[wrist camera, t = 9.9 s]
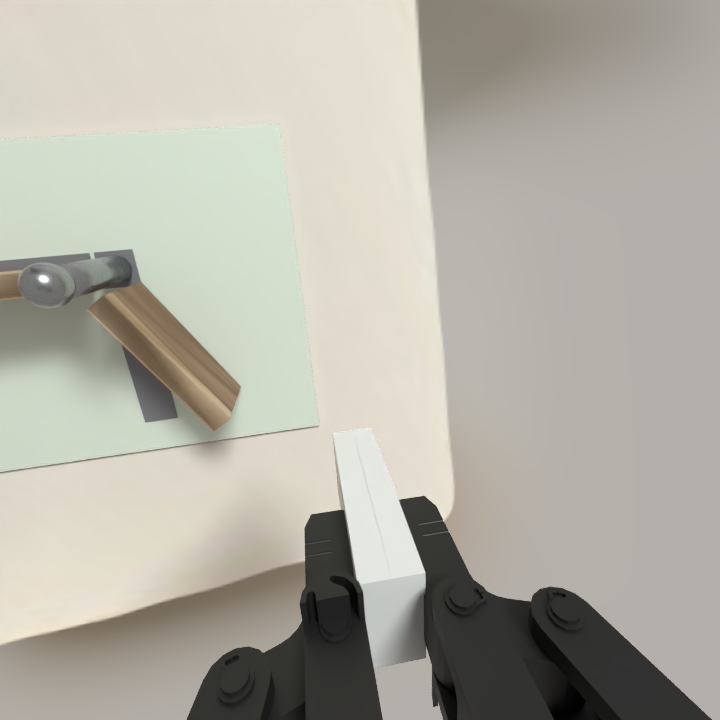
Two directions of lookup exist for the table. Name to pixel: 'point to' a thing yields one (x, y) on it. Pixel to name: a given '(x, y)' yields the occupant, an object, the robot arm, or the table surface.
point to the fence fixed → (9, 284)
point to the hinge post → (70, 280)
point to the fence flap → (168, 352)
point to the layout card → (150, 288)
